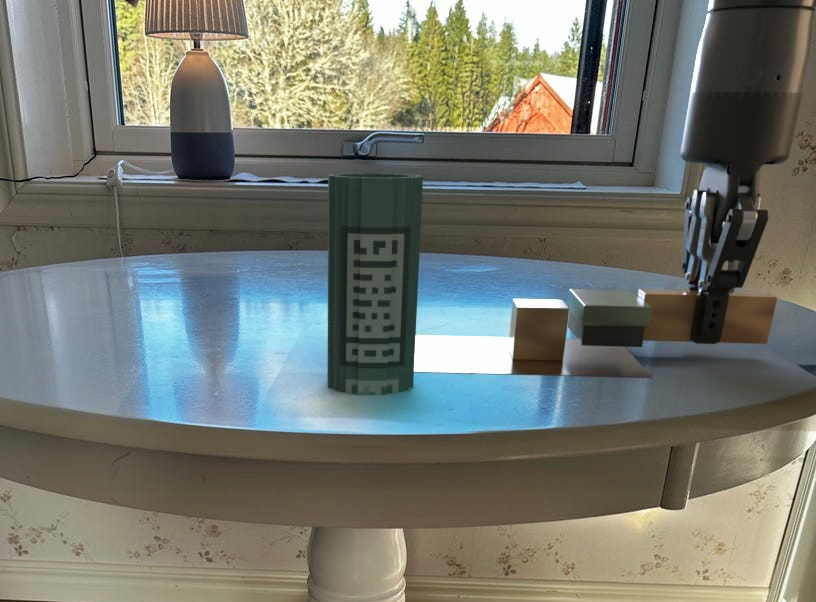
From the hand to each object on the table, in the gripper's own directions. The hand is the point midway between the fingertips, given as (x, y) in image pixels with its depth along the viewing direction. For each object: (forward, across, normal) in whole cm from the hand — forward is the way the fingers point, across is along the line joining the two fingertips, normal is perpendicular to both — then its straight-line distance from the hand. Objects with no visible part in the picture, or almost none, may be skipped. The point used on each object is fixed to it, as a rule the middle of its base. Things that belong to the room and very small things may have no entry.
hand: (699, 337), depth 76 cm
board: (+3, 0, +15) cm, 15 cm away
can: (+3, -11, +26) cm, 28 cm away
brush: (0, 0, +3) cm, 3 cm away
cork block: (+2, 0, +13) cm, 13 cm away
